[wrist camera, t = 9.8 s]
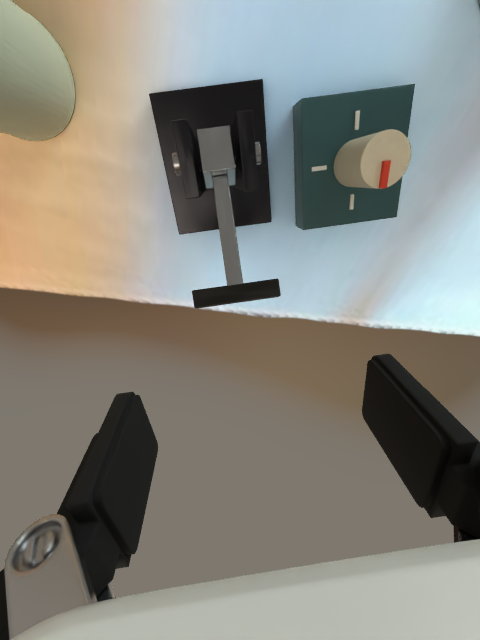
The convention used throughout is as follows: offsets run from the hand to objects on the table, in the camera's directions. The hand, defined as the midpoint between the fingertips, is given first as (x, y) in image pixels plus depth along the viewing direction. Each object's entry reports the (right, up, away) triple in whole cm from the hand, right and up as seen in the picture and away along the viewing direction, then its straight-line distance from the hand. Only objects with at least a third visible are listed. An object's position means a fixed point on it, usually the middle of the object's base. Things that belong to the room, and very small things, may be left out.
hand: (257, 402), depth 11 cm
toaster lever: (-2, +10, +10) cm, 14 cm away
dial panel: (+10, +20, +18) cm, 29 cm away
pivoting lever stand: (-3, +19, +17) cm, 26 cm away
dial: (+10, +18, +16) cm, 26 cm away
